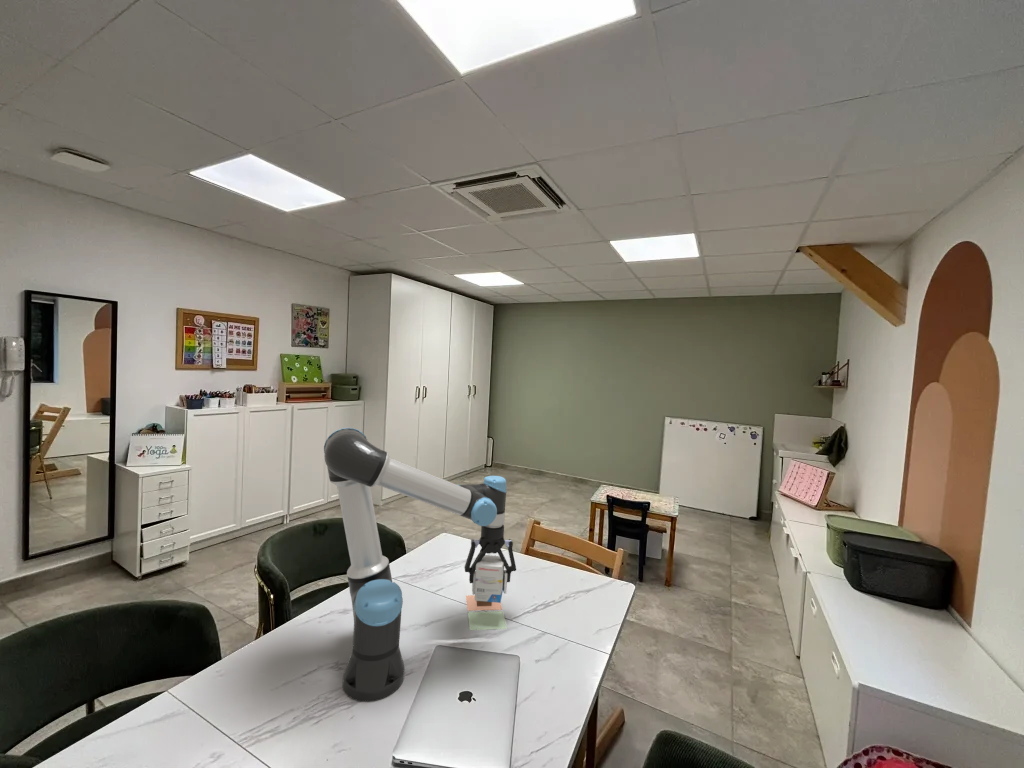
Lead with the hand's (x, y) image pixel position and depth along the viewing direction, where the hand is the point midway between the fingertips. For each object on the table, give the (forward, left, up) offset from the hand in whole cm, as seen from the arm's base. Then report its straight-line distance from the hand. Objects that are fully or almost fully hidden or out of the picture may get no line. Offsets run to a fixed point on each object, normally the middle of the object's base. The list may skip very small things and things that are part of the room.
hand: (489, 592), depth 134 cm
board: (+5, 0, -11) cm, 12 cm away
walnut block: (+11, 0, -9) cm, 14 cm away
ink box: (0, 0, -1) cm, 1 cm away
